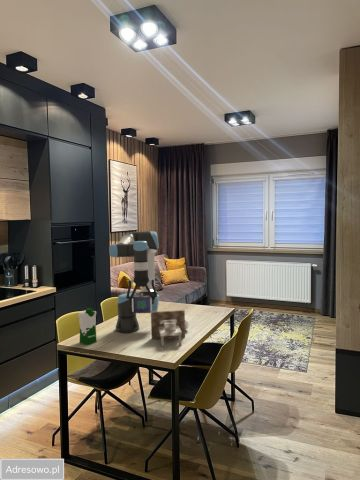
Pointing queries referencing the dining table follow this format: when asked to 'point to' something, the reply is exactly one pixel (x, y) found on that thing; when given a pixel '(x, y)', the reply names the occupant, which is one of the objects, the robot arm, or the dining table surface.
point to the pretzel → (186, 324)
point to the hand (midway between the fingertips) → (142, 310)
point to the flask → (141, 304)
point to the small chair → (168, 325)
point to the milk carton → (87, 326)
